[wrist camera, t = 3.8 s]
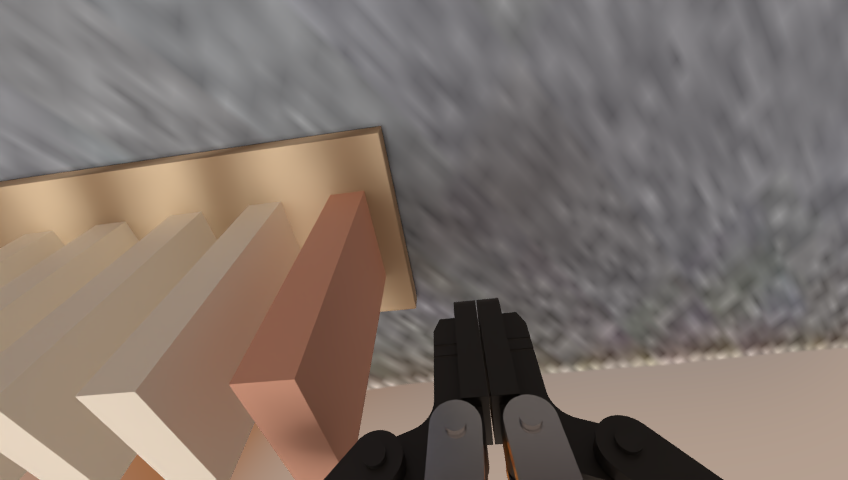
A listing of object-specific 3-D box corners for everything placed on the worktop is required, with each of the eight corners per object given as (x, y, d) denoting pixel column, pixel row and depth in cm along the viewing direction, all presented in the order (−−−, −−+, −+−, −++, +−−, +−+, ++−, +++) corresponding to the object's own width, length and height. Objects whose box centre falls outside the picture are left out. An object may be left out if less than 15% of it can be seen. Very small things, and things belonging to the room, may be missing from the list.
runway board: (380, 125, 16) (377, 132, 15) (416, 296, 22) (416, 308, 21) (-151, 203, 19) (-177, 212, 18) (-2, 337, 24) (-17, 349, 23)
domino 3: (280, 201, 17) (135, 391, 9) (313, 283, 20) (225, 489, 11) (248, 205, 17) (74, 396, 9) (285, 286, 20) (178, 491, 12)
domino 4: (364, 190, 17) (294, 379, 8) (386, 275, 19) (350, 483, 11) (330, 194, 17) (228, 384, 9) (356, 278, 20) (299, 485, 11)
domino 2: (201, 211, 18) (-12, 403, 9) (244, 290, 20) (109, 495, 12) (170, 215, 18) (-66, 407, 9) (217, 293, 20) (65, 497, 12)
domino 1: (125, 221, 18) (-146, 413, 10) (177, 297, 21) (1, 500, 12) (96, 225, 18) (-195, 417, 10) (151, 300, 21) (-40, 502, 12)
